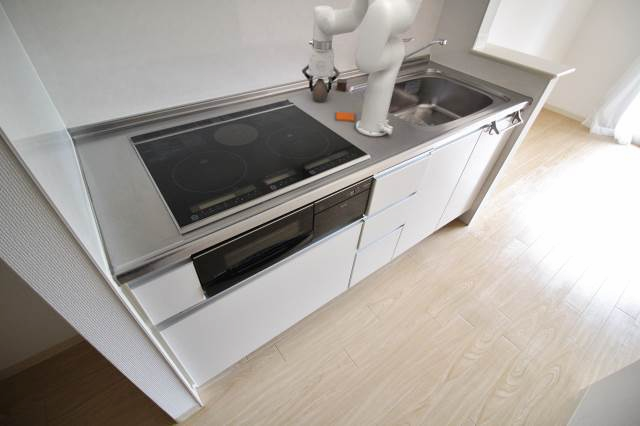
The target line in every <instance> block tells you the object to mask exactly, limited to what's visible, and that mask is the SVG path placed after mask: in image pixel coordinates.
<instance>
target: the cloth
mask: <svg viewBox="0 0 640 426" xmlns="http://www.w3.org/2000/svg"><path fill="white" fill-rule="evenodd" d="M335 114H336V115H335V117H336V118H335V120H336V121H342V122H343V121H344V122H355V113H354V112H345V111H336V113H335Z"/></svg>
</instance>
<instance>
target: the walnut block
mask: <svg viewBox="0 0 640 426" xmlns="http://www.w3.org/2000/svg"><path fill="white" fill-rule="evenodd" d="M347 84H348V80H347V79H345V78H336V91H337V92H346V91H347Z"/></svg>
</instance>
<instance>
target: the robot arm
mask: <svg viewBox="0 0 640 426" xmlns="http://www.w3.org/2000/svg"><path fill="white" fill-rule="evenodd" d="M422 2H423V0H374V1H372V3H371V4H370V0H351V2H350V4H349V6H348V7H346V8H336V9H334V8H333V7H332V6H330V5H317V6H315V7H314V9H313V26H312V28H313V29H312V30H313V31H312V39H311V40H309V41H308V44H309V45H311V48H310V50H309V57H308V63H307V64H306V65H305V66H304V67H303V68H302V69H301V73H302V74H303V75H304V77H305V78H306V79H307V80H308V89H310V90H309V91H310V92H312V89H313V86H314V80H313V78H314V77H317V78H318V77H319V78H327V79H328V83H327V88H328V94H329V93H330V91H332V84H333V82H334V81H335V80H337V79H338V77H339V76H340V75H341V71H340V70H339V69H338V68H337V67H336V65H335V51H334V48H333V47H332V46H333V36H337V35H343V34H349V33H352V32H354V31H355V30H357V28H358V27H359V26H361V25H360V24H361V23H362V22H363V23H362V26H361V30H360V33H359V37H358V39H357V44H356V47H355V53H354V62H355V66H356V68H357V70H358V71H359V72H361V73H362V74H368V77H367V80H366V87H365V92H364V97H363V104H362V110H361V116H360V119H359V120H358V121H356V123H355V130H357V132H359V134H360V133H361V134H362V135H365V136H368V137H382V136H385V135H387V134H388V135H392V133H393V131H394V127H393V126H392V125H389V122H390V120H389V119H387V118H388V114H389V109H390V106H391V102H392V98H393V93H394V89H395V85H396V81H397V77H398V75H399V72H400V69H401V66H402V64H403V62H404V58H405V56H406V55H405V54H406V46H405V43H404V41H403V40H402V38H401V37H399V36H398V35H400V34H404V33H406V32H408V31H409V30H410V29H411V28H412V26H413V24H414V22H415V20H416V17H417V16H418V15H417V14H418V12H419V10H420V7H421V5H422ZM307 71H308V72H307ZM334 73H335V74H334Z"/></svg>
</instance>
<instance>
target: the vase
mask: <svg viewBox="0 0 640 426" xmlns="http://www.w3.org/2000/svg"><path fill="white" fill-rule="evenodd" d="M328 94H329V93H328V84H327V83H326V82H325V80H324V79H323V78H317V80H316V82H315V83H313V89H312V91H311V95H312V98H313V99H314V100H315V102H319V103H321V102H322V103H323V102H325V100H326V99H327V97H328Z"/></svg>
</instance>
